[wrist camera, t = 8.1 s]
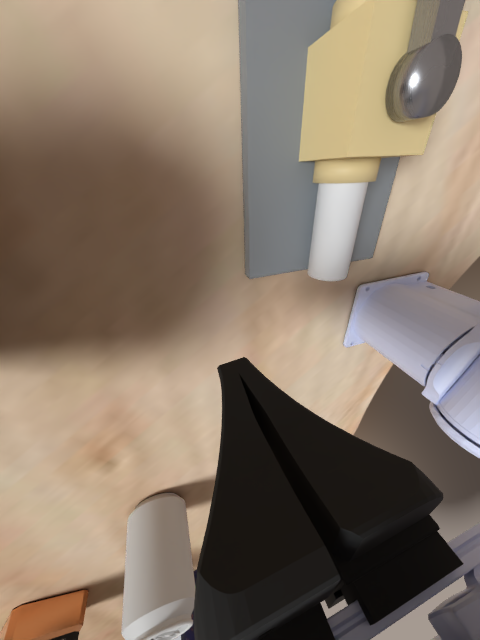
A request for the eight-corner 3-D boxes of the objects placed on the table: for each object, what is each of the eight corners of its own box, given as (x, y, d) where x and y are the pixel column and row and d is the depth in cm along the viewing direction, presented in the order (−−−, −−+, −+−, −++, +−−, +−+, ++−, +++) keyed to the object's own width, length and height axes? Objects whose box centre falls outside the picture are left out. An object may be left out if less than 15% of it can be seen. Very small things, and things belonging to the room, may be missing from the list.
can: (121, 504, 30) (108, 662, 20) (180, 482, 32) (195, 616, 22) (136, 526, 34) (131, 666, 24) (187, 505, 36) (203, 627, 26)
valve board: (468, -156, 11) (678, -372, 7) (364, 255, 22) (418, 274, 18) (231, -265, 8) (333, -792, 4) (245, 274, 19) (275, 304, 14)
